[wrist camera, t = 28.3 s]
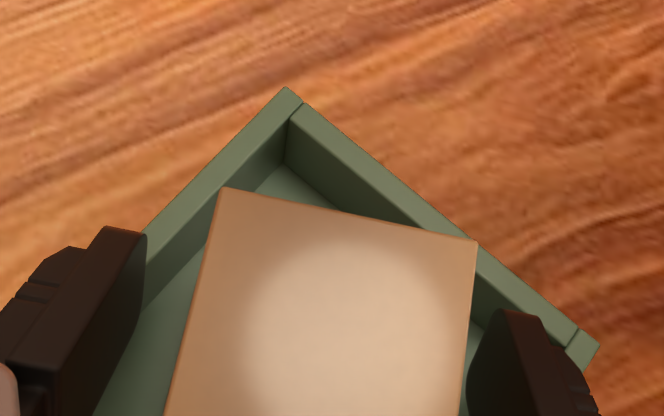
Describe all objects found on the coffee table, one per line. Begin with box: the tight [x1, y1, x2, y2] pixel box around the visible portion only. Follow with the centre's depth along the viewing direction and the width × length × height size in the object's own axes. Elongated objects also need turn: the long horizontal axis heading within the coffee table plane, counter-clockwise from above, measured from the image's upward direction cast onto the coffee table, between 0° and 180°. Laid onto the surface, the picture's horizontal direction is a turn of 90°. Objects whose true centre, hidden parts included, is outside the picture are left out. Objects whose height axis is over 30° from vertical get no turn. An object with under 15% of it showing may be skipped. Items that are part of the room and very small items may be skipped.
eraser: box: [162, 186, 478, 416], centre depth 11 cm, size 4×5×8 cm
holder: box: [92, 86, 600, 416], centre depth 14 cm, size 9×10×4 cm
